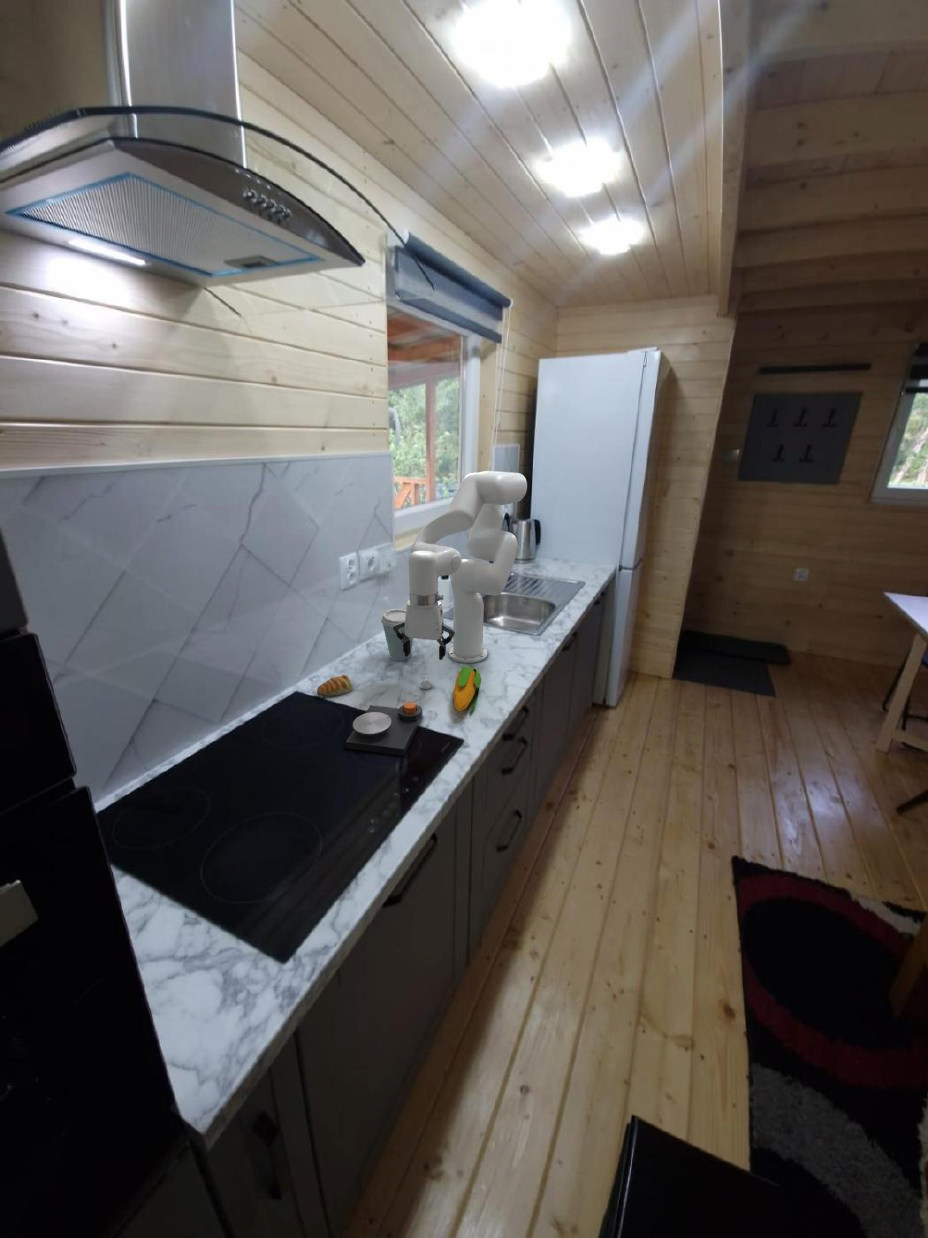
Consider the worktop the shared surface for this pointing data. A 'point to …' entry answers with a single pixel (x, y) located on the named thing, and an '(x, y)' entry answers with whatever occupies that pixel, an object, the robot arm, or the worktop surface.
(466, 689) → the corn
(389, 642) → the disposable coffee cup
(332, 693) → the pastry
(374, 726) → the scale pan
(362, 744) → the scale
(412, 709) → the tare button
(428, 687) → the garlic
